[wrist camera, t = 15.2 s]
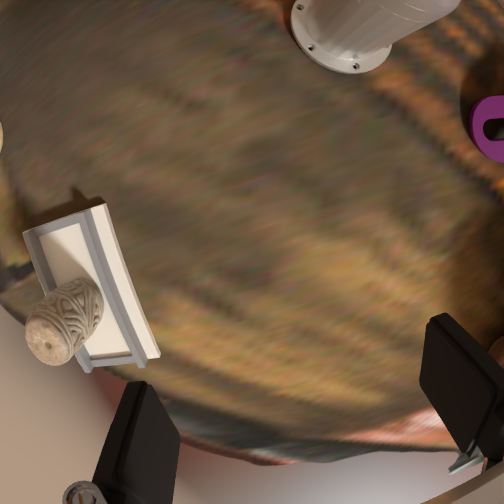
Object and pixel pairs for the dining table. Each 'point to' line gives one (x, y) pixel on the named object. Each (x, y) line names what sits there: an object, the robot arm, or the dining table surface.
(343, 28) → the robot arm
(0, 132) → the hand bell
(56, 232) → the rail plate
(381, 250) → the dining table surface
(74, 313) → the carving
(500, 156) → the mounting bracket
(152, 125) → the dining table surface
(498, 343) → the pottery vessel
